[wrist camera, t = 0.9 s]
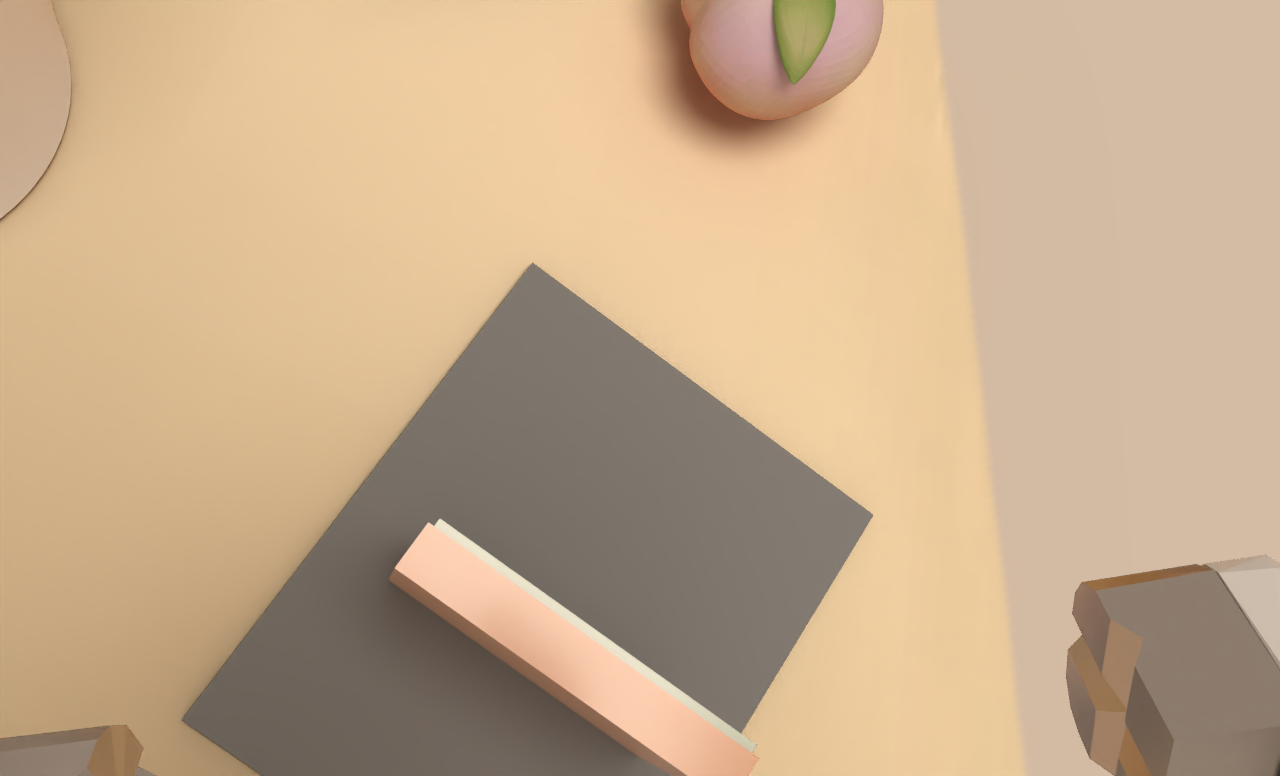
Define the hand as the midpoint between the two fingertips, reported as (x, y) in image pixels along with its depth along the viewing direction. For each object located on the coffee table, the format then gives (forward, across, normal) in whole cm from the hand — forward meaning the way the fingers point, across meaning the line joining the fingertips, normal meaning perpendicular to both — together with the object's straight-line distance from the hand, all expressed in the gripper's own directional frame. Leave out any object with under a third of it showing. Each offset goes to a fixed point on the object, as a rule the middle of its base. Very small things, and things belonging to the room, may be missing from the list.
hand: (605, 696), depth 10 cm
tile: (+24, +6, +26) cm, 36 cm away
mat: (+26, +5, +26) cm, 37 cm away
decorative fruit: (+44, -6, +12) cm, 47 cm away
